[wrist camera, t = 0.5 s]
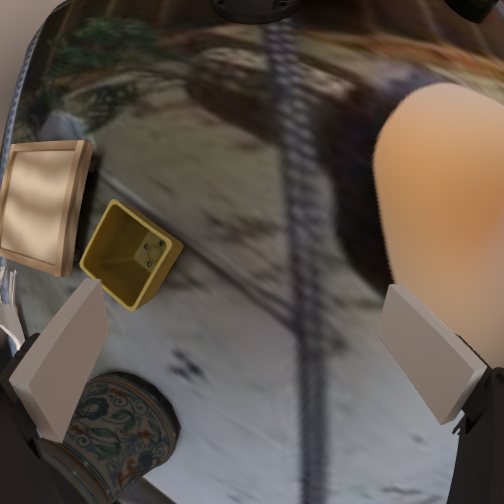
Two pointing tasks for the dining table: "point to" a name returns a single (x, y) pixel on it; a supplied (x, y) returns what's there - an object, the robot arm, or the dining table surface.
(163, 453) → the beer stein
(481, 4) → the dark green wine bottle
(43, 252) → the plant caddy
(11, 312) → the llama figurine
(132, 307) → the flower pot
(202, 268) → the dining table surface
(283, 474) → the dining table surface
